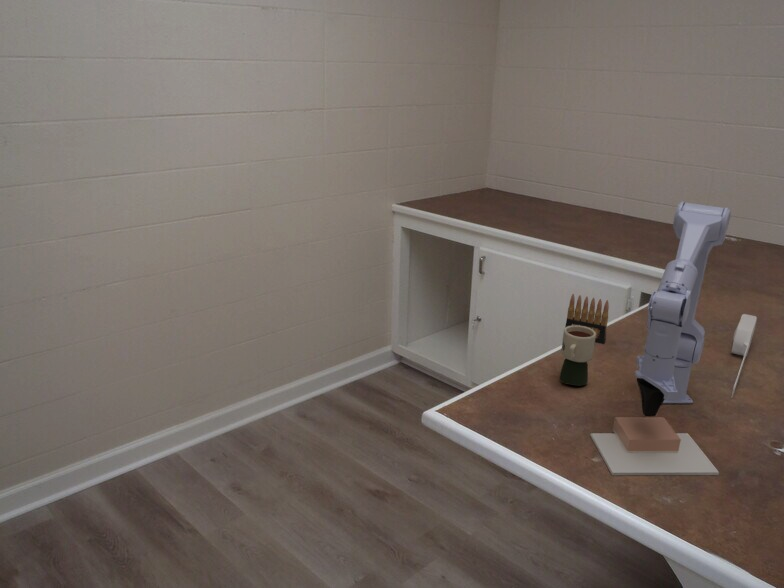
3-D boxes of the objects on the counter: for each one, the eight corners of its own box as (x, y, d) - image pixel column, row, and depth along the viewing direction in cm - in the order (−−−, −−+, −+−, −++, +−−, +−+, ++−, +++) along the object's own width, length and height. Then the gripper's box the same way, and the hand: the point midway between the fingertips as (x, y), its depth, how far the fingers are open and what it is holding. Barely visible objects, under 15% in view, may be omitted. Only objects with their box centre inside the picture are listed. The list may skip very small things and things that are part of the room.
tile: (615, 417, 136) (629, 439, 128) (663, 417, 136) (680, 439, 129) (612, 429, 137) (627, 452, 129) (661, 429, 137) (678, 452, 130)
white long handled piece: (710, 403, 154) (729, 408, 152) (717, 373, 151) (736, 378, 149) (735, 334, 183) (752, 338, 181) (742, 308, 179) (758, 311, 177)
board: (590, 435, 136) (590, 433, 135) (687, 435, 136) (687, 433, 136) (612, 475, 124) (612, 472, 123) (718, 475, 124) (719, 472, 124)
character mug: (565, 369, 163) (572, 319, 158) (595, 376, 159) (602, 326, 155) (550, 387, 154) (556, 335, 149) (581, 396, 151) (588, 343, 146)
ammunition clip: (605, 341, 178) (611, 299, 174) (604, 344, 177) (610, 301, 172) (565, 333, 183) (570, 292, 178) (563, 335, 181) (568, 294, 177)
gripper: (625, 335, 133) (616, 395, 138) (655, 370, 120) (643, 435, 124) (660, 335, 133) (649, 395, 138) (693, 370, 120) (680, 435, 125)
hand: (648, 414), depth 131 cm, fingers closed
